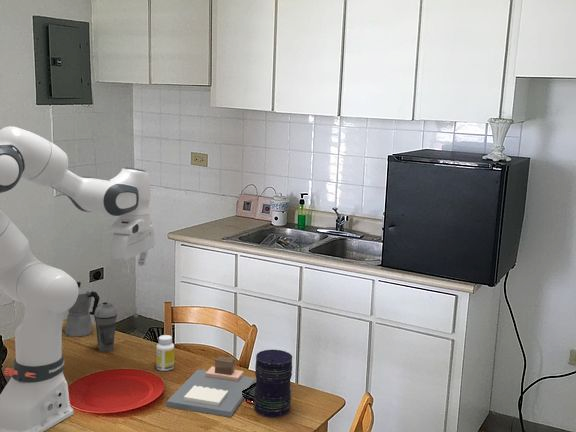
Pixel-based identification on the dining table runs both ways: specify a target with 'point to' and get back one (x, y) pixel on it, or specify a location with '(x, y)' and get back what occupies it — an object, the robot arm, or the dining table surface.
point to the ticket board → (210, 394)
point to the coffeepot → (81, 313)
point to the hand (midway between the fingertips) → (134, 268)
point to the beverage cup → (105, 325)
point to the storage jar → (273, 383)
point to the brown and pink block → (224, 369)
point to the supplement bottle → (165, 353)
